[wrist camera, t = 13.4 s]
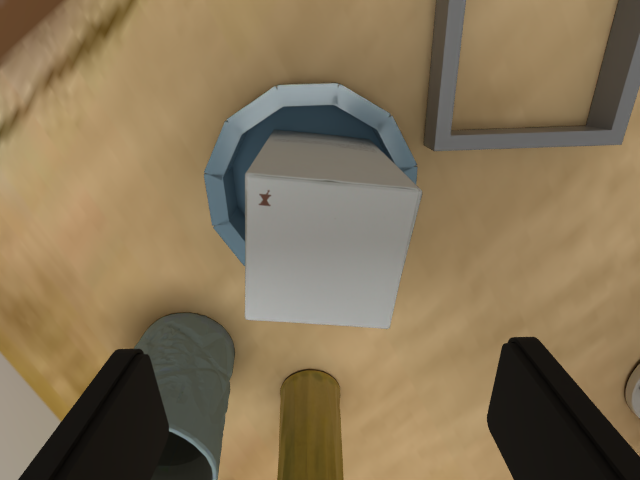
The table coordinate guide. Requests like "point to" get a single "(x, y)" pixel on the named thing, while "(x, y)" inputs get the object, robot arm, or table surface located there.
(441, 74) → the gray square frame
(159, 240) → the table surface
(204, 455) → the blue-grey cup
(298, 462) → the vase
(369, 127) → the bowl
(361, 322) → the supplement box
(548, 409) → the robot arm
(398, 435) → the table surface
